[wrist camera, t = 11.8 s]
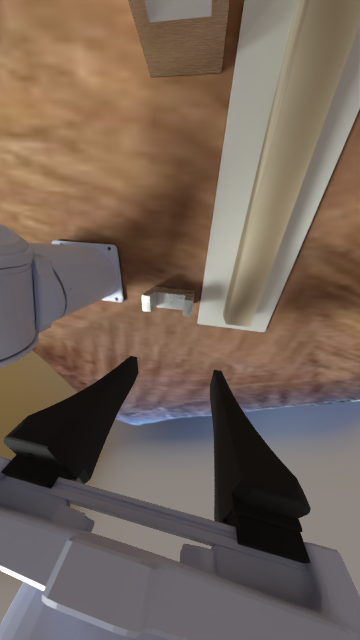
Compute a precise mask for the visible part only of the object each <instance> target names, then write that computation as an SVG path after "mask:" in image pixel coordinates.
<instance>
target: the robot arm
mask: <svg viewBox="0 0 360 640" xmlns="http://www.w3.org/2000/svg"><path fill="white" fill-rule="evenodd" d="M109 247H110V248H111V250H109ZM117 298H118V300H117ZM99 300H105V301H113V302H123V301H124V296H123V288H122V281H121V273H120V265H119V258H118V250H117V247H116V246H115V245H109V244H96V243H83V242H69V241H56V240H54V241H52V244H45V243H29V242H27V241H26V240H24V239H23V238H21V237H20V236H19V235H18V234H16V233H15V232H14V231H12V230H10V229H9V228H7V227H5V226H3V225H1V224H0V367H3V366H6V365H8V364H11V363H13V362H15V361H17V360H19V359H20V358H22V357H24V356H25V355H27V354H28V353H29V352H30V351H31V350H32V349H33V348H34V347H35V346H36V344H37V342H38V333H40V332H42V331H44V330H46V329H48V328H50V327H51V324H52V322H54V321H55V320H58V319H60V318H62V317H64V316H66V315H69V314H71V313H73V312H75V311H77V310H79V309H82V308H84V307H86V306H88V305H90V304H93V303H95V302H97V301H99ZM137 375H138V364H137V357H133V356H130V357H129V358H127V359H126V360H125V361H124V362H122V363H121V364H120V365H119V366H117V367H116V368H115V369H114V370H112V371H111V372H110V373H108V374H107V375H105V376H104V377H103V378H101V379H100V380H98V381H97V382H95V383H94V384H92V385H90V386H89V387H87V388H85V389H84V390H82V391H80V392H78V393H76V394H75V395H73V396H71V397H69V398H67V399H65V400H63V401H61V402H59V403H57V404H55V405H52V406H50V407H48V408H46V409H44V410H41V411H39V412H36V413H34V414H32V415H29V416H28V417H26V418H25V419H24V420H23V421H22V422H21V423H20V424H19V425H18V426H17V427H16V428H15V429H14V430H12V431H11V432H10V433H9V434H8V435H7V436H6V437H5V438H4V443H5V444H6V446H8V447H9V448H10V449H11V450H12V451H13V452H14V453H16V454H17V455H16V456H15V457H14V458H13V459H12V460H9V459H7V458H4V457H0V570H1V571H3V572H5V573H7V574H9V575H11V576H13V577H15V578H18V579H19V580H22V581H23V583H22V585H21V587H20V589H19V591H18V592H17V594H16V596H15V598H14V600H13V602H12V603H11V605H10V607H9V609H8V611H7V613H6V615H5V616H4V618H3V620H2V622H1V623H0V640H360V596H359V594H358V592H357V590H356V588H355V585H354V583H353V581H352V579H351V577H350V575H349V573H348V570H347V568H346V566H345V564H344V561H343V559H342V557H341V555H340V553H339V552H338V551H337V550H334V549H330V548H327V547H323V546H320V545H316V544H312V543H306V542H303V539H302V536H301V533H300V532H302V527H301V525H300V522H299V519H298V518H300V517H303V516H305V515H307V514H308V513H309V512H310V506H309V504H308V501H307V499H306V496H305V494H304V492H303V490H302V488H301V486H300V484H299V482H298V480H297V478H296V477H295V476H294V475H293V474H292V473H291V472H290V471H289V469H288V468H287V467H286V466H285V465H284V464H283V463H282V462H281V461H280V459H278V457H277V456H276V455H275V454H274V452H273V451H272V450H271V449H270V448H269V446H268V445H267V444H266V443H265V441H264V440H263V439H262V438H261V436H260V435H259V434H258V432H257V431H256V430H255V428H254V427H253V426H252V424H251V423H250V421H249V420H248V418H247V417H246V416H245V414H244V412H243V411H242V409H241V408H240V406H239V404H238V403H237V401H236V399H235V398H234V396H233V394H232V392H231V390H230V388H229V386H228V384H227V382H226V380H225V378H224V376H223V373H222V372H221V371H217V370H214V372H213V376H212V380H211V384H210V401H211V410H212V419H213V430H214V459H215V460H214V464H215V465H214V467H215V508H214V516H215V517H214V519H215V521H212V520H209V519H205V518H202V517H198V516H195V515H191V514H187V513H184V512H180V511H177V510H173V509H170V508H166V507H163V506H159V505H156V504H152V503H149V502H145V501H141V500H138V499H134V498H131V497H127V496H124V495H120V494H116V493H113V492H110V491H106V490H103V489H99V488H95V487H92V486H88V485H85V483H86V482H87V481H89V480H90V479H91V476H92V474H93V471H94V468H95V466H96V463H97V460H98V458H99V455H100V453H101V450H102V448H103V445H104V443H105V441H106V438H107V436H108V433H109V431H110V429H111V426H112V424H113V422H114V420H115V418H116V415H117V413H118V411H119V409H120V407H121V406H122V404H123V402H124V400H125V398H126V397H127V395H128V393H129V391H130V389H131V388H132V386H133V384H134V382H135V380H136V377H137ZM71 480H72V481H71ZM74 481H75V482H74ZM78 482H79V483H78ZM81 483H82V484H81ZM70 503H71V504H74V505H77V506H81V507H84V508H87V509H90V510H94V511H97V512H100V513H104V514H107V515H110V516H114V517H117V518H120V519H123V520H127V521H130V522H134V523H137V524H140V525H143V526H147V527H150V528H153V529H157V530H160V531H163V532H166V533H170V534H173V535H176V536H180V537H183V538H186V539H190V540H193V541H196V542H200V543H203V544H206V545H209V546H213V547H212V548H211V549H208V548H204V547H200V546H195V545H189V544H183V547H182V549H181V553H180V562H177V561H174V560H172V559H168V558H166V557H163V556H160V555H157V554H154V553H152V552H149V551H146V550H143V549H140V548H137V547H134V546H131V545H128V544H125V543H122V542H119V541H116V540H113V539H110V538H106V537H103V536H100V535H97V534H93V533H91V531H92V529H93V526H94V521H93V520H91V519H89V518H88V517H87V516H86V515H85V513H82V512H80V511H78V510H75V509H73V508H70Z"/></svg>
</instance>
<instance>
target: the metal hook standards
mask: <svg viewBox="0 0 360 640" xmlns="http://www.w3.org/2000/svg"><path fill="white" fill-rule="evenodd" d="M128 1H129V5H130V8H131V12H132V15H133V19H134V22H135V25H136V29H137V32H138V36H139V39H140V43H141V46H142V49H143V53H144V56H145V60H146V63H147V67H148V70H149V74H150V77H160V76H178V75H195V74H213V73H221V71H222V62H223V54H224V46H225V38H226V29H227V21H228V11H229V2H230V0H128ZM194 294H195V290H186V289H177V288H167V287H157V286H154V287H153V288H151V289H150V290H148V291H147V292H145V293H144V294H143V295H142V310H143V311H147V312H151V311H152V310H153V308H154V307H161V308H169V309H178V310H183V316H187V317H191V315H192V309H193V302H194Z"/></svg>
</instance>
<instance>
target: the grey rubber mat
mask: <svg viewBox="0 0 360 640" xmlns="http://www.w3.org/2000/svg"><path fill="white" fill-rule="evenodd" d="M296 2H297V0H244V5H243V12H242V19H241V26H240V33H239V40H238V47H237V54H236V60H235V67H234V74H233V81H232V88H231V95H230V102H229V109H228V115H227V122H226V129H225V136H224V143H223V150H222V157H221V163H220V170H219V177H218V184H217V191H216V198H215V205H214V212H213V218H212V225H211V232H210V239H209V246H208V253H207V260H206V267H205V273H204V280H203V287H202V294H201V301H200V308H199V315H198V322H197V324H204V325H211V326H219V327H227V328H234V329H242V330H250V331H258V332H265V330H266V328H267V325H268V323H269V321H270V318H271V316H272V314H273V311H274V309H275V307H276V304H277V302H278V300H279V297H280V295H281V292H282V290H283V288H284V285H285V283H286V281H287V278H288V276H289V274H290V271H291V269H292V267H293V264H294V262H295V260H296V257H297V255H298V252H299V250H300V248H301V245H302V243H303V241H304V238H305V236H306V234H307V231H308V229H309V227H310V224H311V222H312V220H313V217H314V215H315V212H316V210H317V208H318V205H319V203H320V201H321V198H322V196H323V194H324V191H325V189H326V187H327V184H328V182H329V180H330V177H331V175H332V172H333V170H334V168H335V165H336V163H337V161H338V158H339V156H340V154H341V151H342V149H343V147H344V144H345V142H346V139H347V137H348V135H349V132H350V130H351V128H352V125H353V123H354V121H355V118H356V116H357V114H358V111H359V109H360V24H359V27H358V30H357V33H356V36H355V38H354V41H353V44H352V47H351V49H350V52H349V55H348V58H347V61H346V63H345V66H344V69H343V72H342V74H341V77H340V80H339V83H338V86H337V88H336V91H335V94H334V97H333V99H332V102H331V105H330V108H329V111H328V113H327V116H326V119H325V122H324V124H323V127H322V130H321V133H320V136H319V138H318V141H317V144H316V147H315V149H314V152H313V155H312V158H311V160H310V163H309V166H308V169H307V172H306V174H305V177H304V180H303V183H302V185H301V188H300V191H299V194H298V197H297V199H296V202H295V205H294V208H293V210H292V213H291V216H290V219H289V222H288V224H287V227H286V230H285V233H284V235H283V238H282V241H281V244H280V247H279V249H278V252H277V255H276V258H275V260H274V263H273V266H272V269H271V272H270V274H269V277H268V280H267V283H266V285H265V288H264V291H263V294H262V297H261V299H260V302H259V305H258V308H257V310H256V313H255V316H254V319H253V322H252V324H251V327H244V326H236V325H228V324H226V323H225V320H224V317H223V310H224V306H225V302H226V298H227V294H228V289H229V285H230V281H231V277H232V272H233V268H234V264H235V260H236V256H237V251H238V247H239V243H240V239H241V234H242V230H243V226H244V222H245V218H246V213H247V209H248V205H249V201H250V196H251V192H252V188H253V184H254V180H255V175H256V171H257V167H258V163H259V158H260V154H261V150H262V146H263V142H264V137H265V133H266V129H267V125H268V120H269V116H270V112H271V108H272V104H273V99H274V95H275V91H276V87H277V82H278V78H279V74H280V70H281V66H282V61H283V57H284V53H285V49H286V44H287V40H288V36H289V32H290V28H291V23H292V19H293V15H294V11H295V6H296Z"/></svg>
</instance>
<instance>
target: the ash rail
mask: <svg viewBox="0 0 360 640" xmlns="http://www.w3.org/2000/svg"><path fill="white" fill-rule="evenodd" d="M359 24H360V0H297V2H296V6H295V11H294V15H293V19H292V23H291V28H290V32H289V36H288V40H287V44H286V49H285V53H284V57H283V61H282V66H281V70H280V74H279V78H278V82H277V87H276V91H275V95H274V99H273V104H272V108H271V112H270V116H269V120H268V125H267V129H266V133H265V137H264V142H263V146H262V150H261V154H260V158H259V163H258V167H257V171H256V175H255V180H254V184H253V188H252V192H251V196H250V201H249V205H248V209H247V213H246V218H245V222H244V226H243V230H242V234H241V239H240V243H239V247H238V251H237V256H236V260H235V264H234V268H233V272H232V277H231V281H230V285H229V289H228V294H227V298H226V302H225V306H224V310H223V317H224V320H225V323H226V324H228V325H236V326H244V327H251V324H252V322H253V319H254V316H255V313H256V310H257V308H258V305H259V302H260V299H261V297H262V294H263V291H264V288H265V285H266V283H267V280H268V277H269V274H270V272H271V269H272V266H273V263H274V260H275V258H276V255H277V252H278V249H279V247H280V244H281V241H282V238H283V235H284V233H285V230H286V227H287V224H288V222H289V219H290V216H291V213H292V210H293V208H294V205H295V202H296V199H297V197H298V194H299V191H300V188H301V185H302V183H303V180H304V177H305V174H306V172H307V169H308V166H309V163H310V160H311V158H312V155H313V152H314V149H315V147H316V144H317V141H318V138H319V136H320V133H321V130H322V127H323V124H324V122H325V119H326V116H327V113H328V111H329V108H330V105H331V102H332V99H333V97H334V94H335V91H336V88H337V86H338V83H339V80H340V77H341V74H342V72H343V69H344V66H345V63H346V61H347V58H348V55H349V52H350V49H351V47H352V44H353V41H354V38H355V36H356V33H357V30H358V27H359Z"/></svg>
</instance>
